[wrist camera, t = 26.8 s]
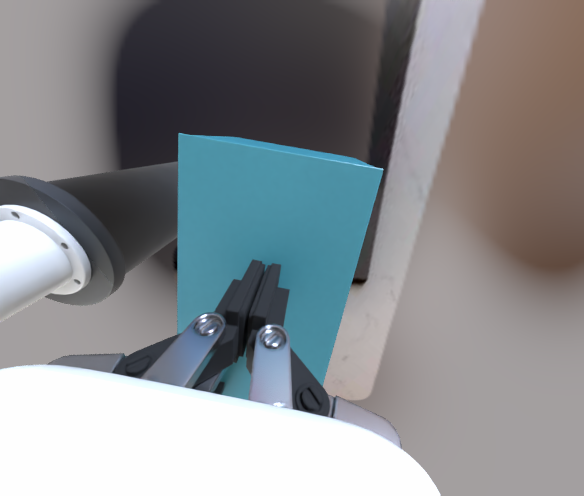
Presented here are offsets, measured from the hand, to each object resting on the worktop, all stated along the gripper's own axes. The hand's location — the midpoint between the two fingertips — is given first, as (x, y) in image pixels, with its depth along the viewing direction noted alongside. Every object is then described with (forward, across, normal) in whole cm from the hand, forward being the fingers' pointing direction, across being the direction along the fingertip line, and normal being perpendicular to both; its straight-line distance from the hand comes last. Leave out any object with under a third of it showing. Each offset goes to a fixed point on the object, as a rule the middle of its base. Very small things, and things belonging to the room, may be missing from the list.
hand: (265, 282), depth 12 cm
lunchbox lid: (+1, 0, +2) cm, 2 cm away
